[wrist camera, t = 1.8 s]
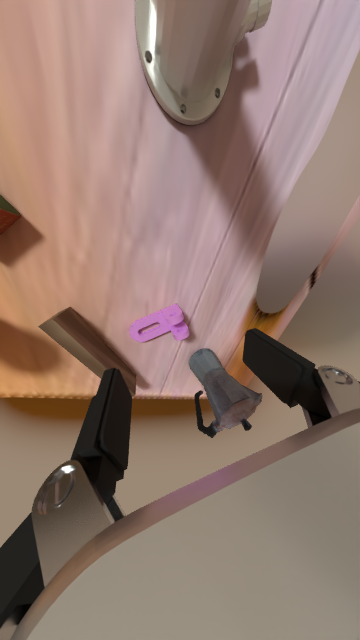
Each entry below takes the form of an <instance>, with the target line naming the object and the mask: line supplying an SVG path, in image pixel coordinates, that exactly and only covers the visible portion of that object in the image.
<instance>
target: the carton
mask: <svg viewBox="0 0 360 640" xmlns="http://www.w3.org/2000/svg"><path fill="white" fill-rule="evenodd" d="M20 216H21V215H20V213H19V212H18V211H17V210H16V209H14V208H13V207H12V206H11V205H10V204H9V203H8V202H7V201H6V200H5V199H4V198H3V197H2V196H1V195H0V234H1V233H3V232H4V231H5V230H6V229H7V228H8V227H9V226H10V225H12V224H13V223H14V222H15V221H16V220H17V219H18V218H19V217H20Z"/></svg>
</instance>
